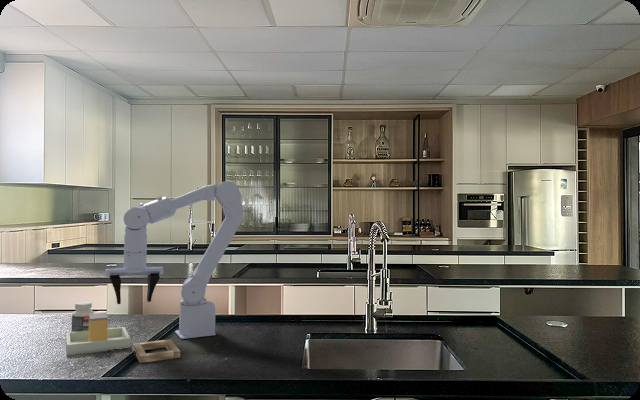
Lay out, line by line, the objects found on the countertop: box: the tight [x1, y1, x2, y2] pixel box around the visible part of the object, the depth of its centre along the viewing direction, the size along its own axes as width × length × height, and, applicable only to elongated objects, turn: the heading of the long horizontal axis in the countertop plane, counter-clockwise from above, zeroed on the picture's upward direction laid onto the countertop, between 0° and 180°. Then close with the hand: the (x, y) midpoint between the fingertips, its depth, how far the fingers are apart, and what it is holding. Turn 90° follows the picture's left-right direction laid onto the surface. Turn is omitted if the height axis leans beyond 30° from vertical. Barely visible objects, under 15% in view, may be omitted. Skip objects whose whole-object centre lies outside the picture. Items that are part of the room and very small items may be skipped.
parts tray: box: [65, 326, 131, 357], centre depth 119 cm, size 14×12×2 cm
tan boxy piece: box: [88, 312, 109, 342], centre depth 119 cm, size 4×6×7 cm, turn 29°
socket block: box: [132, 338, 181, 364], centre depth 114 cm, size 9×11×2 cm
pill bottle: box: [70, 301, 94, 332], centre depth 127 cm, size 5×5×9 cm
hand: (134, 302), depth 127 cm, fingers open, 7 cm apart
